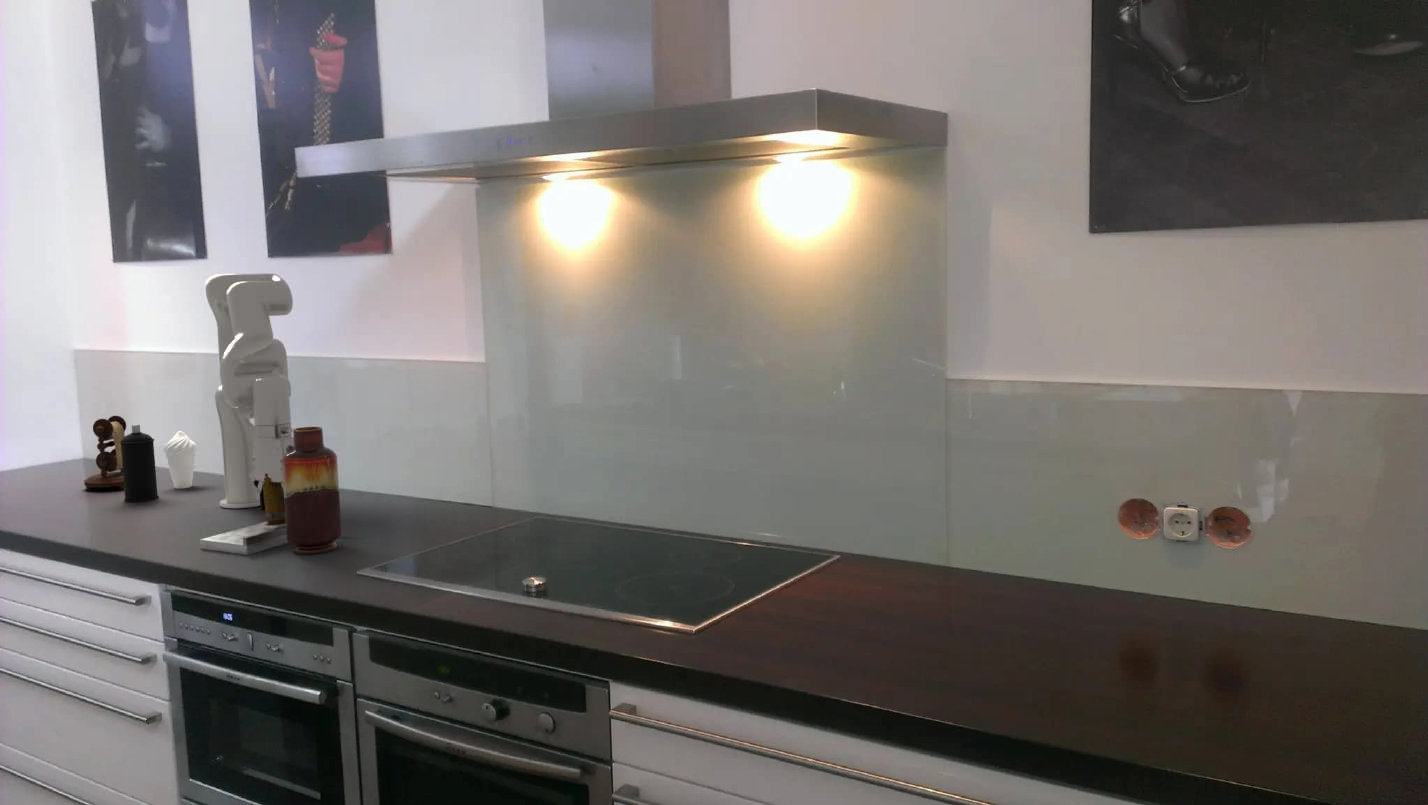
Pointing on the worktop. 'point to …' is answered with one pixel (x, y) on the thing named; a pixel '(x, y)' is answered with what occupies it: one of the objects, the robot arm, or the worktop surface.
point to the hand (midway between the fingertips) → (278, 510)
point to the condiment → (273, 502)
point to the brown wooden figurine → (108, 453)
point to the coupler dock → (247, 539)
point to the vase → (311, 493)
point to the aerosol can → (138, 466)
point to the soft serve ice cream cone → (181, 459)
